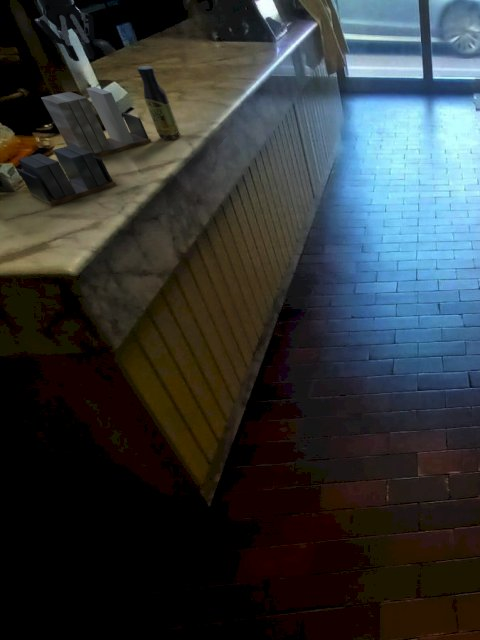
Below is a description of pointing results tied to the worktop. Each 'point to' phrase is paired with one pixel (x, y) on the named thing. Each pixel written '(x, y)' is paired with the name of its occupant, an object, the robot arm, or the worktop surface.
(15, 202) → the worktop surface
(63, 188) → the grey book rack
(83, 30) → the robot arm
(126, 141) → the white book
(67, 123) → the grey book stand
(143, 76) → the sauce bottle
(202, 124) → the worktop surface
